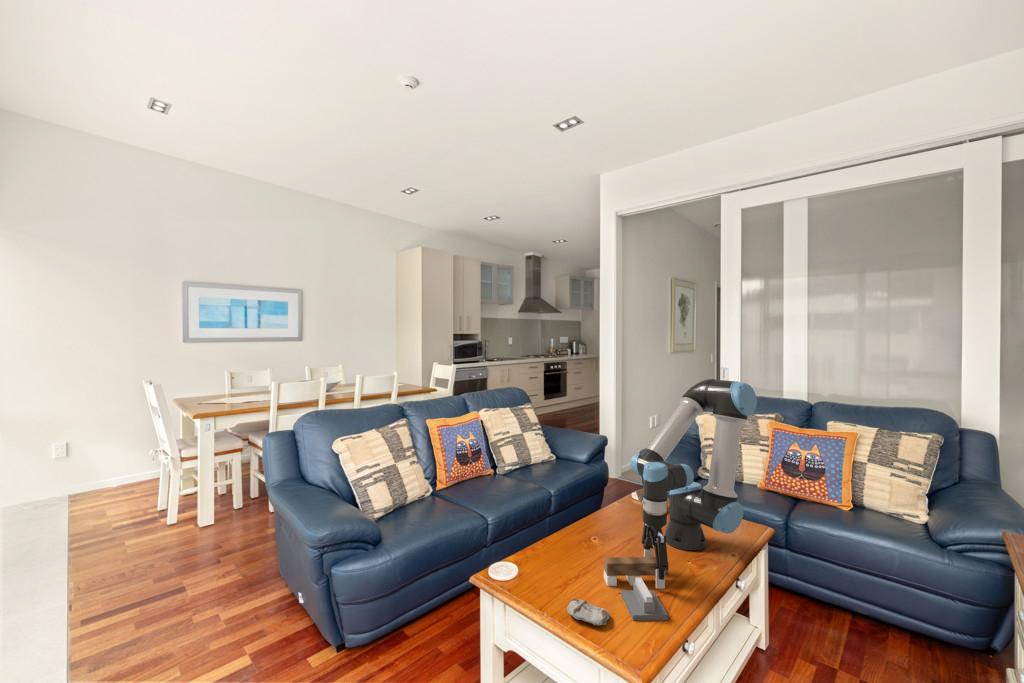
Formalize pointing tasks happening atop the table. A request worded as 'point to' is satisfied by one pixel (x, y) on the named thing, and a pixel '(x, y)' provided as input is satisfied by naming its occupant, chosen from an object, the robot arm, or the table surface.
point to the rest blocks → (613, 579)
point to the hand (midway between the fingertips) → (653, 578)
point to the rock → (640, 495)
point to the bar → (631, 566)
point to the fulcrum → (643, 603)
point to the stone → (588, 612)
